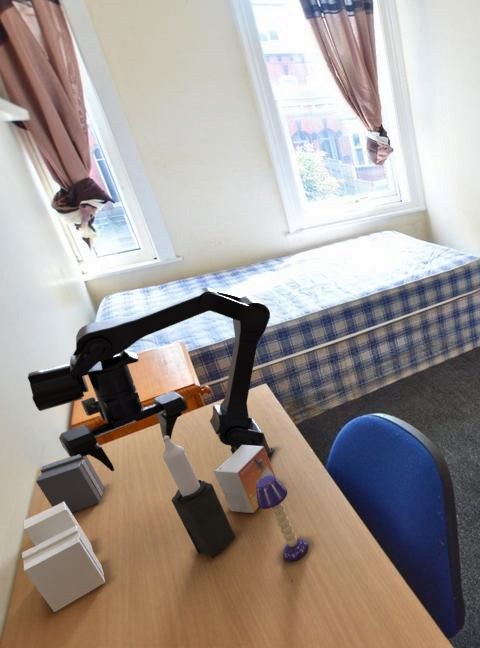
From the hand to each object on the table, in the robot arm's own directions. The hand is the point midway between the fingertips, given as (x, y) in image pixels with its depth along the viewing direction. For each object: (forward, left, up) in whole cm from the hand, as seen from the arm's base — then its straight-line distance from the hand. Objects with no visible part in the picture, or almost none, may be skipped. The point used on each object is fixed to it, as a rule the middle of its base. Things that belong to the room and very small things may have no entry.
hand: (140, 457), depth 93 cm
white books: (+3, +18, -13) cm, 22 cm away
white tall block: (+9, +12, -13) cm, 20 cm away
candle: (-18, +11, -13) cm, 24 cm away
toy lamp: (-34, +14, -13) cm, 39 cm away
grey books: (+20, -3, -13) cm, 24 cm away
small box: (-20, 0, -13) cm, 23 cm away
